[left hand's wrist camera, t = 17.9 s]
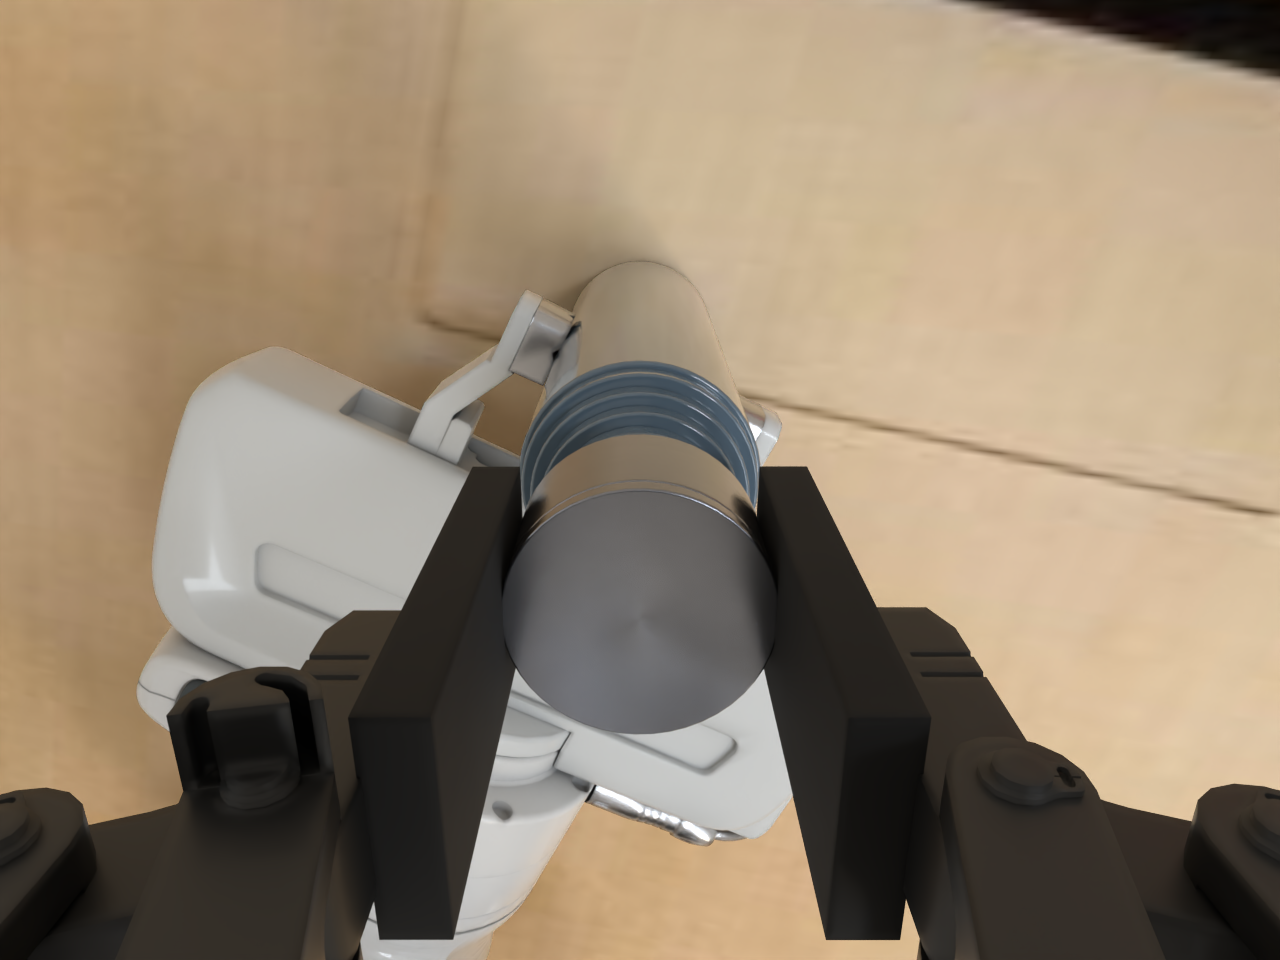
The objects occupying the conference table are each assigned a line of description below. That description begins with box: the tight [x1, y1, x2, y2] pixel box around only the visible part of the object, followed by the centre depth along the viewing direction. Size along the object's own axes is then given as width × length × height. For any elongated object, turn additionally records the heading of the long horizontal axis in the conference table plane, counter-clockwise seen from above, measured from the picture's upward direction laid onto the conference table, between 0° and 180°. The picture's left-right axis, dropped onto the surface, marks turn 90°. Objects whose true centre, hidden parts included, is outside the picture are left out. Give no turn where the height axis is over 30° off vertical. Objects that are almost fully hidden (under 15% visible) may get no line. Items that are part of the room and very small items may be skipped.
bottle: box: [519, 261, 761, 510], centre depth 21 cm, size 5×5×18 cm
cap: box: [502, 434, 778, 734], centre depth 13 cm, size 4×4×2 cm
